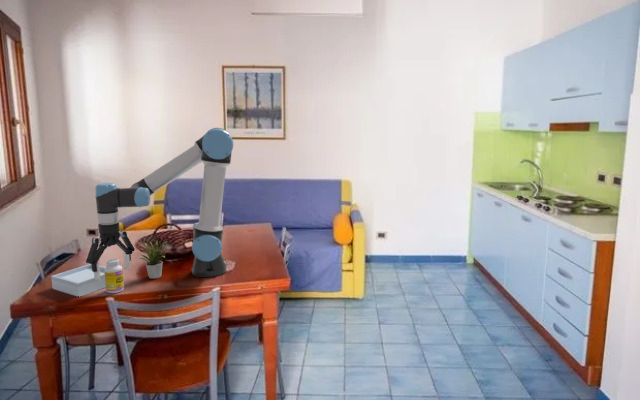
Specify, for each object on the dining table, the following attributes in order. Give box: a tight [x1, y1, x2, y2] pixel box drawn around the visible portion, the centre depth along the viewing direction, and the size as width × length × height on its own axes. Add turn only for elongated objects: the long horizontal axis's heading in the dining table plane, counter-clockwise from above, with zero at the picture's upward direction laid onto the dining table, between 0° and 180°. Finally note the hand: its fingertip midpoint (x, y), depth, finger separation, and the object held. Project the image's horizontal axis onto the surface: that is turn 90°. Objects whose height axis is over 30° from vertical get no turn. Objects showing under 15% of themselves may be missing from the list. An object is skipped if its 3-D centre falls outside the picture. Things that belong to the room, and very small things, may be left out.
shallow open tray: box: [50, 263, 107, 298], centre depth 190 cm, size 18×18×6 cm
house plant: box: [136, 240, 169, 279], centre depth 199 cm, size 14×14×16 cm
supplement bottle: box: [104, 258, 125, 294], centre depth 183 cm, size 7×7×13 cm
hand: (113, 274), depth 183 cm, fingers open, 13 cm apart
